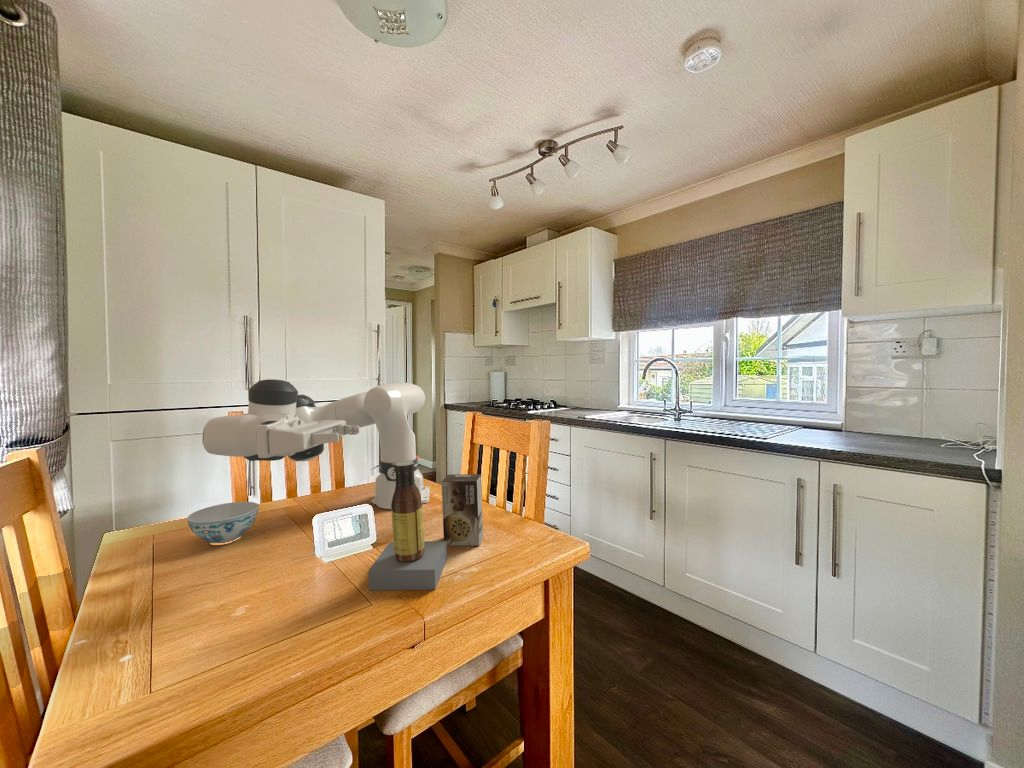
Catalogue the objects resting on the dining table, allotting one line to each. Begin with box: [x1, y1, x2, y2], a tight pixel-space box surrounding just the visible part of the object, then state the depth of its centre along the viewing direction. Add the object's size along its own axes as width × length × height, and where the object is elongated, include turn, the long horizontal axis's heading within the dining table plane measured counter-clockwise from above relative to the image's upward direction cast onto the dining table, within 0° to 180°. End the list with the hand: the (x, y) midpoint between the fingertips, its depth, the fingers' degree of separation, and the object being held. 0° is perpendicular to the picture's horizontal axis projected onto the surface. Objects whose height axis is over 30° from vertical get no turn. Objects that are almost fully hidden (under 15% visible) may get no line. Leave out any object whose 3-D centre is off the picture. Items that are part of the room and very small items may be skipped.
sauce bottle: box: [390, 461, 425, 562], centre depth 84 cm, size 7×6×20 cm
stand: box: [368, 540, 448, 591], centre depth 85 cm, size 13×13×4 cm
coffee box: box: [440, 473, 484, 547], centre depth 101 cm, size 9×6×16 cm
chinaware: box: [186, 501, 259, 543], centre depth 104 cm, size 15×15×8 cm
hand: (349, 433), depth 84 cm, fingers open, 8 cm apart
